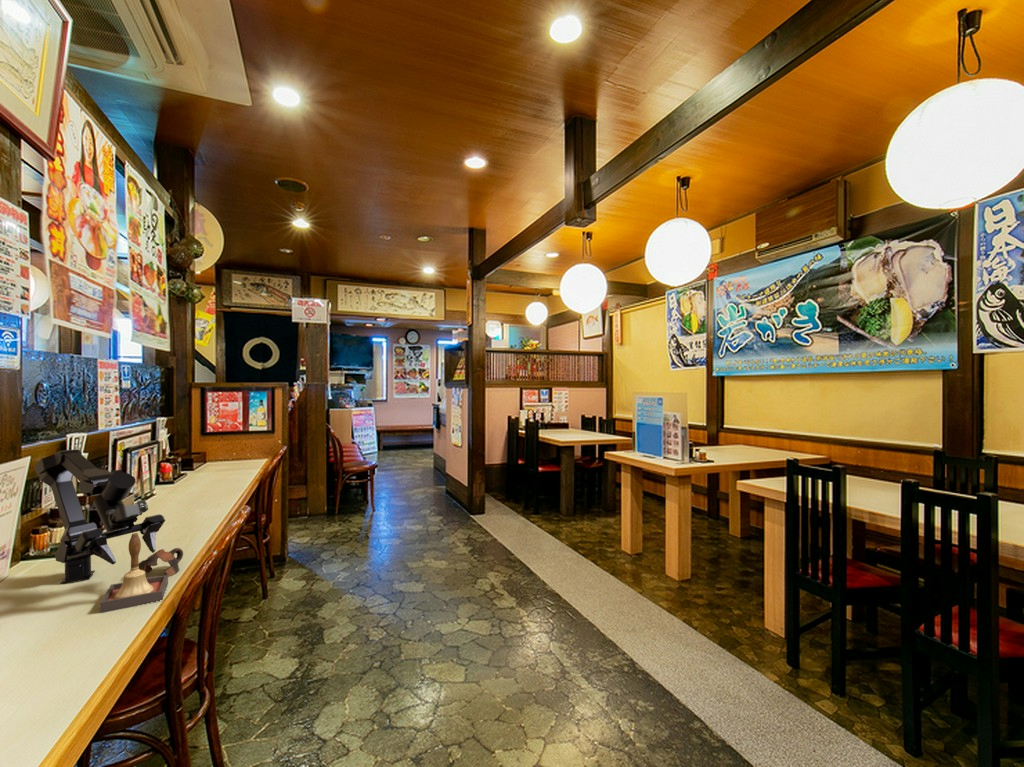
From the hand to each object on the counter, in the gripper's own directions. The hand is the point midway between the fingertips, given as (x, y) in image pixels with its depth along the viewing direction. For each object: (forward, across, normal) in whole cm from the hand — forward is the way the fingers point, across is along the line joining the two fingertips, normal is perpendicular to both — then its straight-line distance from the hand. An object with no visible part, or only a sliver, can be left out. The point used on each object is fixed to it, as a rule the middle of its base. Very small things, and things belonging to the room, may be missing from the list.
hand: (134, 557), depth 126 cm
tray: (+8, 0, +7) cm, 11 cm away
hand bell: (+7, 0, +6) cm, 10 cm away
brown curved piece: (0, +13, +16) cm, 20 cm away
